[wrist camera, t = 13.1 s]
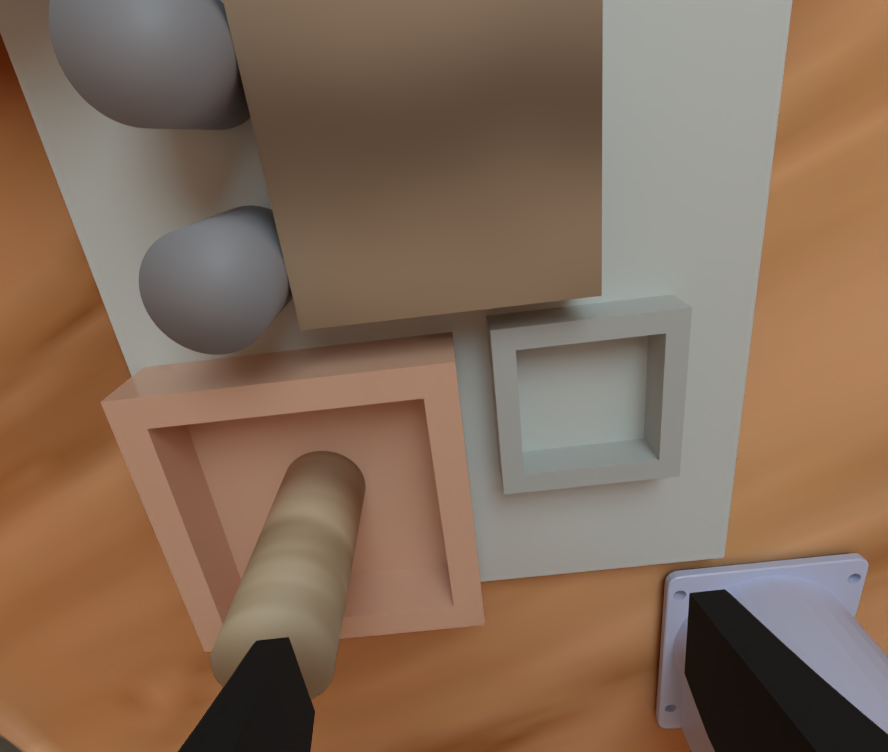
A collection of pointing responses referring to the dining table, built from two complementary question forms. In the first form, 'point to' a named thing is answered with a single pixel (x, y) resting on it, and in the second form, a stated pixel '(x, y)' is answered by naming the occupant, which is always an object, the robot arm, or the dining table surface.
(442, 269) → the square tan tile
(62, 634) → the dining table surface
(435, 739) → the dining table surface
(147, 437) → the tray
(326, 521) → the dowel
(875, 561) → the dining table surface
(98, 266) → the jig board
